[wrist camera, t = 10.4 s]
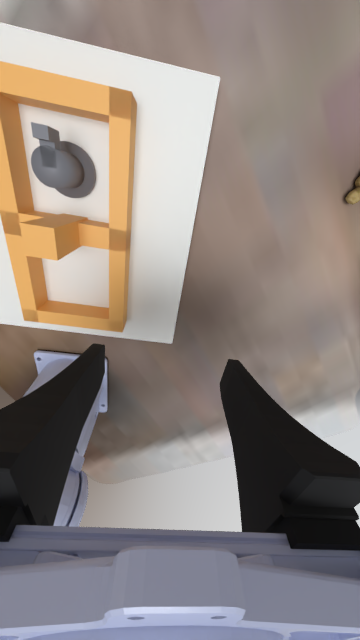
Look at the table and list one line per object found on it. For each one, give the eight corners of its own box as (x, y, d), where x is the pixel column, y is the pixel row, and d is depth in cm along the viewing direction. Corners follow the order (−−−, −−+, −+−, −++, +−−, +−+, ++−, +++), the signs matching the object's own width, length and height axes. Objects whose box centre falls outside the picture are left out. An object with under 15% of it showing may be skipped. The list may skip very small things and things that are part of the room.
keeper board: (172, 335, 24) (171, 369, 20) (-2, 314, 23) (-47, 346, 18) (216, 87, 14) (236, 38, 10) (-89, 12, 13) (-242, -90, 8)
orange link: (126, 321, 22) (113, 357, 17) (36, 309, 21) (-5, 345, 16) (136, 103, 14) (117, 58, 9) (-9, 70, 13) (-116, 1, 8)
